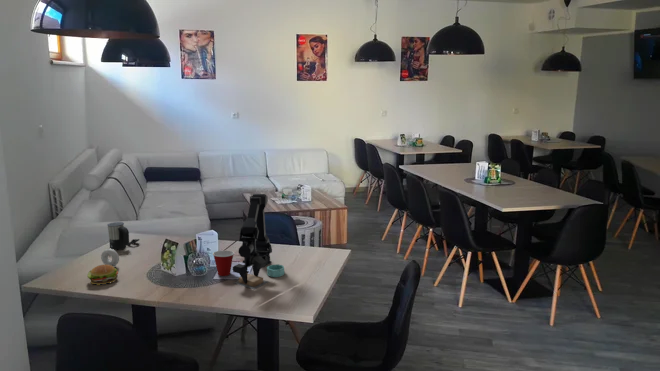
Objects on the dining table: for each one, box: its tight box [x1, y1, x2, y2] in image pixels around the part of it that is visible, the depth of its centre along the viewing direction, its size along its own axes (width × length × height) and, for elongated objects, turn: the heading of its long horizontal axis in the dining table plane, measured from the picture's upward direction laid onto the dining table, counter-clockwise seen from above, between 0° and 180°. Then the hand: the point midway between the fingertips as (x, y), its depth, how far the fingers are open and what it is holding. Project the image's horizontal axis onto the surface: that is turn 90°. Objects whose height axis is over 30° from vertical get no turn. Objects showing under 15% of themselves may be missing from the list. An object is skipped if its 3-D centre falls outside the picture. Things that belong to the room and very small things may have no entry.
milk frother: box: [106, 221, 140, 250], centre depth 295 cm, size 14×16×15 cm
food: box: [87, 264, 119, 286], centre depth 243 cm, size 14×14×8 cm
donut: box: [100, 248, 120, 267], centre depth 262 cm, size 10×4×10 cm, turn 78°
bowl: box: [266, 263, 285, 278], centre depth 250 cm, size 8×8×4 cm
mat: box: [233, 279, 269, 290], centre depth 240 cm, size 14×11×1 cm
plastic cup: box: [212, 250, 235, 277], centre depth 250 cm, size 11×11×12 cm
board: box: [238, 273, 264, 287], centre depth 240 cm, size 10×6×2 cm, turn 56°
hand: (251, 281), depth 240 cm, fingers open, 7 cm apart
